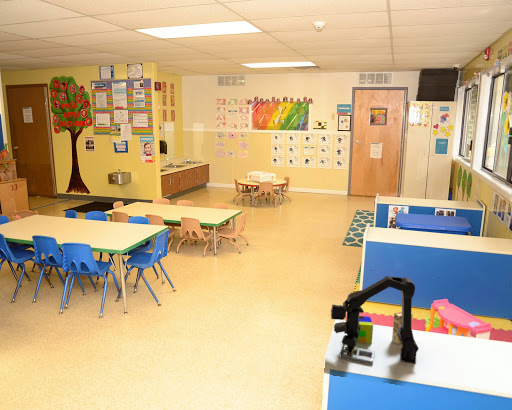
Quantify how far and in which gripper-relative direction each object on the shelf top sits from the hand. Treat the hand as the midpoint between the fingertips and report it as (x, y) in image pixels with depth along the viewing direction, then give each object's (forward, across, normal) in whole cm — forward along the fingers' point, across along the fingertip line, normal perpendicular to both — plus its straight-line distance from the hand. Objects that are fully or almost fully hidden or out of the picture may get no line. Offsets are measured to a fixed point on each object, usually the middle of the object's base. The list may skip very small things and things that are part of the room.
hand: (350, 350), depth 206 cm
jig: (+2, 0, +3) cm, 4 cm away
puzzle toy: (+3, -19, +2) cm, 19 cm away
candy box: (+3, -24, +22) cm, 33 cm away
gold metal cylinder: (+1, 0, 0) cm, 1 cm away
